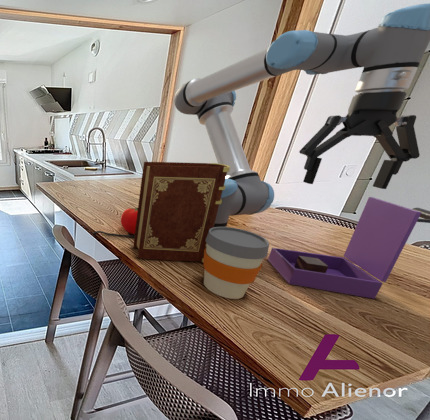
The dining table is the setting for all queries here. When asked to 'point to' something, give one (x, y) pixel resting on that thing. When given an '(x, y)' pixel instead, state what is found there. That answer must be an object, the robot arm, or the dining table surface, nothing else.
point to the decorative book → (177, 209)
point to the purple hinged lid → (382, 236)
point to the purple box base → (325, 274)
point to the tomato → (129, 220)
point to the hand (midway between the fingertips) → (342, 185)
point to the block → (310, 264)
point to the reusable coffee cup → (232, 260)
